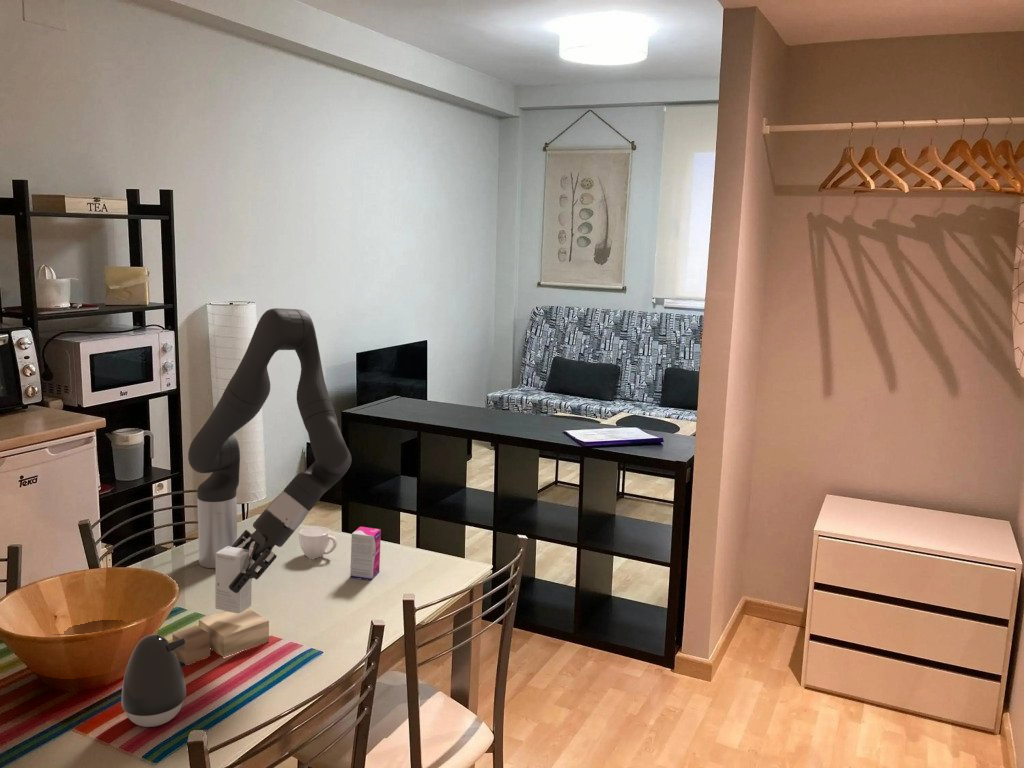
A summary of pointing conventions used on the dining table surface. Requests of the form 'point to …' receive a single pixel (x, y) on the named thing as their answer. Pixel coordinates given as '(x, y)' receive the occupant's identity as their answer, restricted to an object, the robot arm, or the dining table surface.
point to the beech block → (235, 631)
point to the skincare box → (226, 571)
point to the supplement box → (365, 553)
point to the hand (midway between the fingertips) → (226, 583)
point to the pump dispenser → (153, 682)
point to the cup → (316, 541)
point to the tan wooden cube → (192, 644)
